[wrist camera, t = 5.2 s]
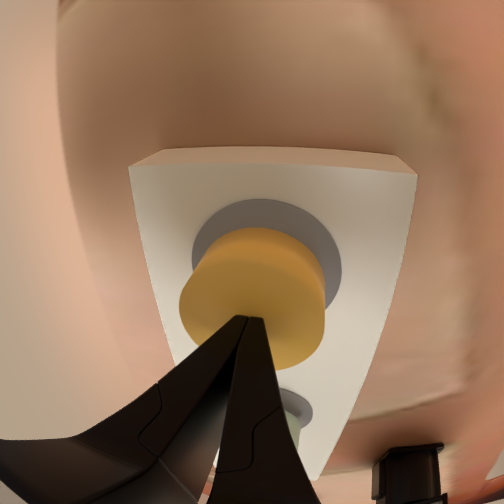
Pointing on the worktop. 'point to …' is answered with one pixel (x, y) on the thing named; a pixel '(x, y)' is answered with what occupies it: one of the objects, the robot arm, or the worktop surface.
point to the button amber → (259, 292)
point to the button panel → (299, 227)
